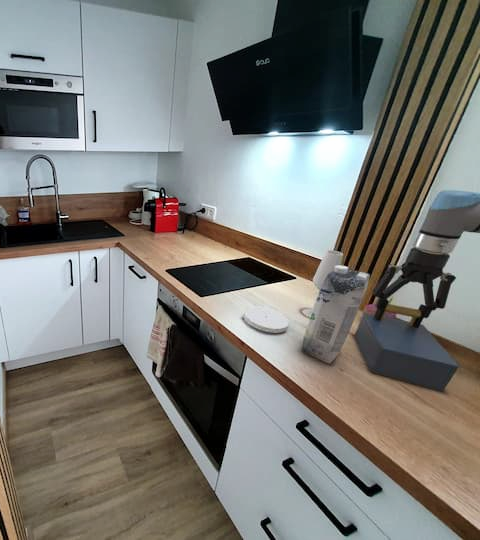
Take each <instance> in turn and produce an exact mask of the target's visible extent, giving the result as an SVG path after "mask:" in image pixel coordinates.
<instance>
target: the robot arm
mask: <svg viewBox="0 0 480 540" xmlns="http://www.w3.org/2000/svg"><path fill="white" fill-rule="evenodd" d="M464 232H465V233H475V234H480V193H479V192H476V191H465V190H456V189H444V190H441V191H439V192H438V193H437V194H436V195H435V197H434V199H433V200H432V203H431V205H430V206H429V207H428V211H427V212H426V216H425V218H424V220H423V222H422V225H421V227H420V229H419V231H418V233H417V235H416V237H415V238H414V241H413V243H412V246H413V247H411V248H410V250H409V252H408V254H407V256H406V258H405V261H404V262H403V263H401V265H393V264H391V263H390V264H387V267H386V271H385V273H384V274H383V275H382V277H381V278H380V280H379V281H378V283H377V284H376V285H375V287H374V288H373V289H372V291H371V292H372V294H373V295H374V297H376V298H377V300H376V302H375V303H374V304H375V307H376V308H377V311H376V313H375V315H374V316H375V317H376V319H377V320H381V318H382V315H383V313H384V311H385V309H386V307H387V305H388V303H389V299H390V298H391V296H393V295H394V294H395V293H397V292H398V291H399V290H400V289H401V288H403V287H405V285H408V284H409V283H417V284H422V289H423V291H422V292H423V298H424V299H423V300H424V304H420V305H419V307H418V308H417V310H421V316H420V317H419V318H416V320H415V322H414V324H413V326H414V327H415V328H419V326H420V324H422V323H423V320H424V319H429V317H430V316H431V314H432V312H434V311H436V310H437V309H440V310H443V309H445V308H446V304H447V301H448V297H449V294H450V289H451V285H452V284H453V283H454V282H455V280H456V279H457V276H455V275H454V274H453V273H451V272H444V268H445V267H446V265H447V263H448V261H449V260H450V258H451V256H450V254H451V253H453V252H454V250H455V248H456V246H457V244H458V242H459V240H460V239H461V237H462V235H463V233H464ZM400 271H401V274H400V275H399V276H398V277H397V279H396V280H395V281H393V282H392V280H393V279H394V278H395V275H396V274H398V273H399V272H400ZM438 278H439V279H440V281H439V284H438V287H437V291H436V295H435V296H434V281H435V280H436V279H438ZM391 282H392V283H391Z"/></svg>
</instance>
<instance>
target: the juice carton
mask: <svg viewBox="0 0 480 540" xmlns="http://www.w3.org/2000/svg"><path fill="white" fill-rule="evenodd" d="M370 276H371V274H370V273H367V272H364V271H360V270H356V269H352V268H349V267H348V266H346V265H342V264H341V265H337V266H335V268H334V269H333V271H332V272H330V273H329V274H328V275H327V277H326V278H325V280H324V282H323V284H322V286H321V289H320V292H319V291H318V292H319V295H318V294H317V295H318V298H317V300H316V299H315V300H316V303H315V302H314V303H315V306H314V305H313V306H314V309H313V308H312V309H313V312H312V315H311V318H310V317H309V321H308V323H307V326H306V328H305V332H304V335H303V339H302V345H301V351H302V353H304V354H306V355H308V356H310V357H313V358H316V359H317V360H319V361H322V362H324V363H326V364H332V362H333V361H334V360H335V359H336V357H338V355H339V353H340V352H341V350H342V348H343V346H344V345H345V342H346V341H347V337H348V335H349V333H350V331H351V328H352V326H353V324H354V321H355V319H356V316H357V314H358V311H359V309H360V307H361V304H362V302H363V300H364V298H365V295H366V293H367V289H368V286H369V282H370Z"/></svg>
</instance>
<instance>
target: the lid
mask: <svg viewBox="0 0 480 540" xmlns="http://www.w3.org/2000/svg"><path fill="white" fill-rule="evenodd" d="M386 312H390V313H395V314H397V315H401V316H405V317H410V321H408V320H407V321H406V320H402V319H397V318H396V319H393V318H388V317H384V315H385V313H386ZM361 315H362V317H364V319H365V321H366V322H367V324H368V326H369V328H370V330H371V331H372V333H373V335H374V337H375V339H376V341H377V342H378V344H379V346H380V348H381V350H382V351H386V352H390V353H394V354H398V355H402V356H406V357H410V358H414V359H419V360H423V361H427V362H431V363H435V364H439V365H443V366H447V367H451V368H455V369H457V370H458V369H459V368H460V366H459V364H458V363H457V362H456V361H455V360H454V359H453V357H452V356H451V355H450V354H449V353H448V351H446V350H445V348H444V347H443V346H442V345H441V343H440V342H439V341H438V340H437V339H436V338H435V336H434V335H433V334H432V333H431V332H430V331H429V330H428V328H427V327H425V325H424V324H422V323H421V324H420V326H419V328H415V327H414V326H413V324H414V322H415V320H416V318H419V317H420V316H421V310H418V308H411V307H406V306H401V305H396V304H391V303H390V304H388V305H387V307H386V309H385V311H384V313H383V315H382V318H381V320H377V319H376V317H375V316H374V315H373V314H369V313H365V312H362V313H361Z"/></svg>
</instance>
